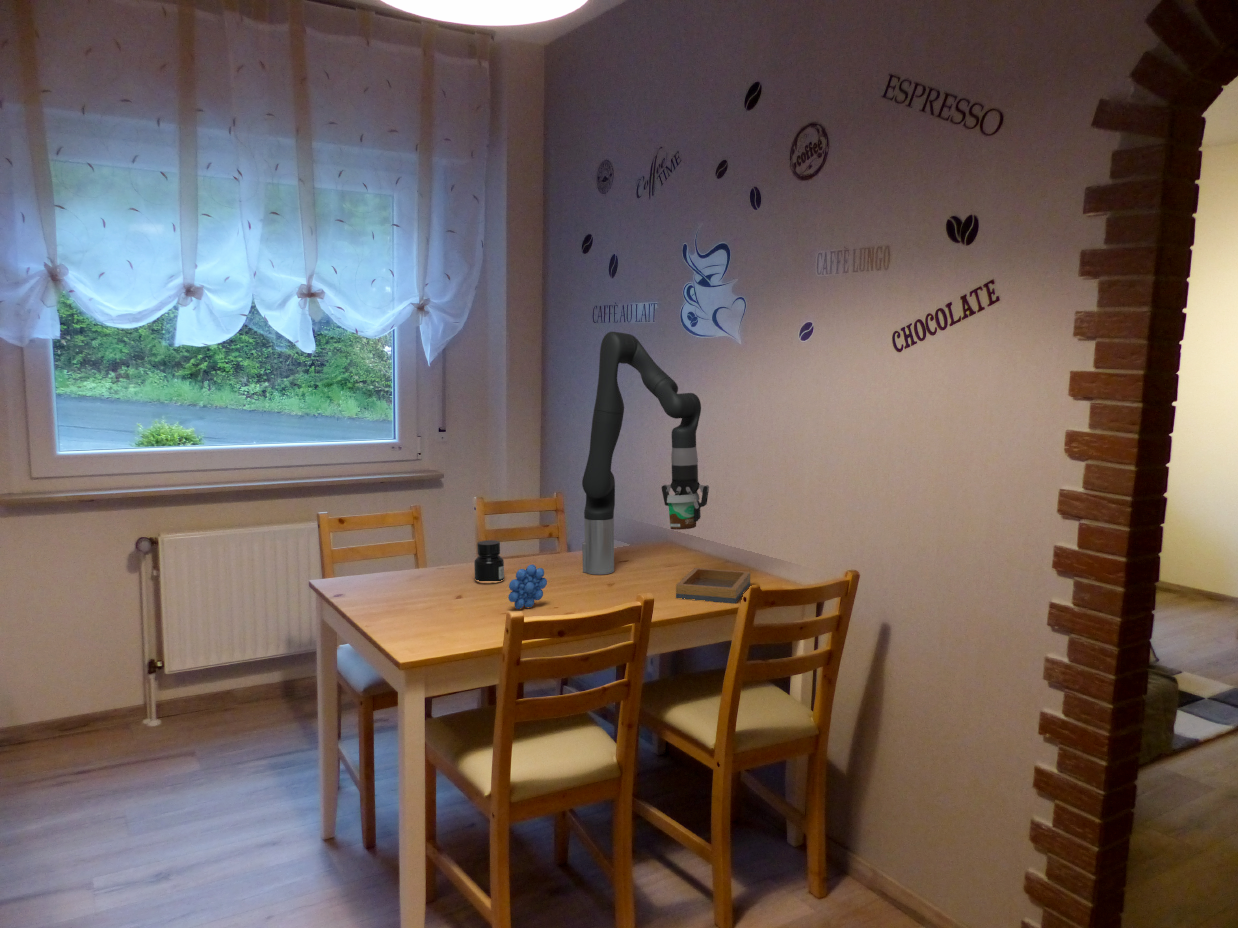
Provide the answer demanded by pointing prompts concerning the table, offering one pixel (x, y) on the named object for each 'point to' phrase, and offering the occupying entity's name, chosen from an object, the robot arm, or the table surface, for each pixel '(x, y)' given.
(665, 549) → the table surface
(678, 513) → the food container
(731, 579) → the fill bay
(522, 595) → the grapes
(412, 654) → the table surface
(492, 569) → the ink bottle
